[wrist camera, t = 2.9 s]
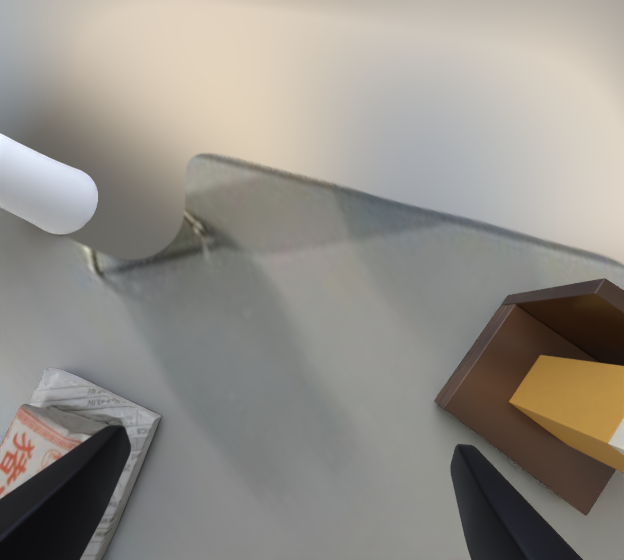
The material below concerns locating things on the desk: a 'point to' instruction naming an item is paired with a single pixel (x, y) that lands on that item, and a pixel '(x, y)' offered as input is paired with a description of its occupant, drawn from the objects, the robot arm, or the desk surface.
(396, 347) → the desk surface
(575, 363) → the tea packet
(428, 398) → the desk surface
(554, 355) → the shelf
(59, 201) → the cosmetic bottle
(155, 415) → the packaged product
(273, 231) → the desk surface
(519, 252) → the desk surface
